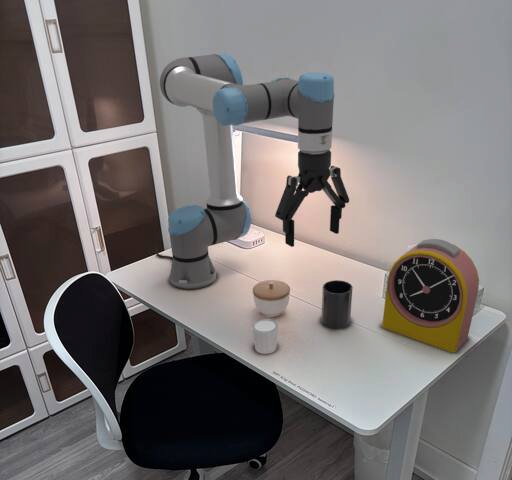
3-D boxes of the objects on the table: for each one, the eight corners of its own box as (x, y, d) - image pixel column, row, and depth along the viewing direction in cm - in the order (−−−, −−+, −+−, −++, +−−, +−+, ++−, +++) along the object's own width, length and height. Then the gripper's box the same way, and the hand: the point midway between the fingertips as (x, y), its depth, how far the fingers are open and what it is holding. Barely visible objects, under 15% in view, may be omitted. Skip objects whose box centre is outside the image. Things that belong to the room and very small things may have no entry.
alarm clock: (381, 327, 145) (391, 238, 131) (396, 313, 151) (407, 226, 136) (454, 353, 134) (474, 258, 119) (468, 337, 140) (489, 245, 125)
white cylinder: (283, 349, 138) (283, 326, 135) (262, 358, 135) (261, 335, 131) (268, 337, 143) (268, 315, 139) (247, 346, 140) (246, 324, 136)
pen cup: (316, 319, 150) (317, 285, 144) (338, 311, 153) (339, 277, 147) (333, 332, 144) (335, 297, 138) (355, 323, 148) (358, 288, 142)
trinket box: (283, 323, 149) (283, 294, 144) (248, 317, 152) (246, 289, 147) (294, 305, 157) (294, 277, 152) (261, 300, 161) (259, 272, 155)
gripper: (277, 163, 111) (278, 255, 122) (368, 144, 121) (361, 231, 133) (258, 156, 116) (261, 245, 128) (347, 138, 126) (342, 222, 138)
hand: (312, 238), depth 130 cm, fingers open, 13 cm apart
